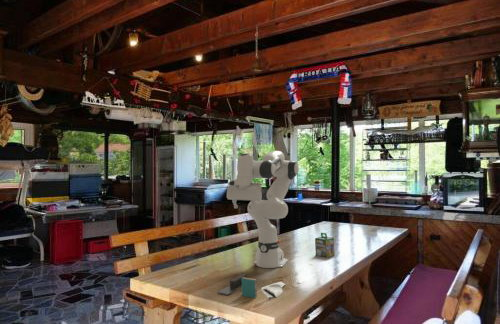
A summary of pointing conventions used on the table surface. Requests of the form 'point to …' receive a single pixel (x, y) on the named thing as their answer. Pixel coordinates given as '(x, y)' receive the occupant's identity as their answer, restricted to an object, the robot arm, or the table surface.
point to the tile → (249, 287)
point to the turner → (232, 285)
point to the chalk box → (324, 246)
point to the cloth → (273, 289)
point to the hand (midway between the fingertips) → (243, 208)
